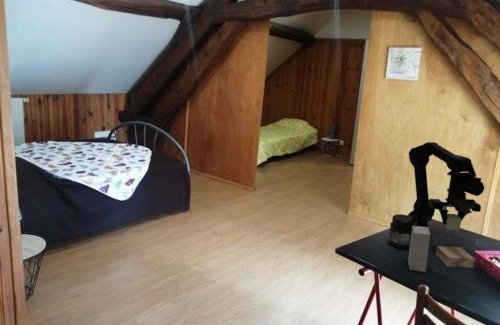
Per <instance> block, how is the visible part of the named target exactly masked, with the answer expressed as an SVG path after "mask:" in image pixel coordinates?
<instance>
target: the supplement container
mask: <svg viewBox="0 0 500 325" xmlns="http://www.w3.org/2000/svg"><path fill="white" fill-rule="evenodd" d="M391 220H392V221H391V222H390V224H389V227H390V228H389V232H388V239H387V240H388V243H389V245H391V246H392V247H394V248H396V249H399V250H400V249H401V250H409V249H410V241H411V232H412V226H416V223H417V220H416V219H415V218H414V217H411V216H408V214H401V213H398V214H394V215H393V216H392V219H391Z"/></svg>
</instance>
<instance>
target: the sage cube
mask: <svg viewBox="0 0 500 325" xmlns="http://www.w3.org/2000/svg"><path fill="white" fill-rule="evenodd" d="M461 219H462V218H460V217H459V216H458V215H457V214H456V213H447V218H446V224H445V225H444V224H443V221H442V220H441V221H442V222H441V226H443V227H444V228H445V230H452V231H460V230H461V223H462V221H461Z"/></svg>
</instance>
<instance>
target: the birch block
mask: <svg viewBox="0 0 500 325" xmlns="http://www.w3.org/2000/svg"><path fill="white" fill-rule="evenodd" d="M435 250H436V251H435V256H437V258H438V259H440V261H441V262H442V263H443V264H444V265H445V266H447V267H450V268H451V267H455V268H471V269H472V268H473V269H474V266H475V262H476V258H475V257H474V256H473V255H471V254H470V253H469V252H468V251H467V250H466V249H465V248H464V247H462V246H461V247H460V246H439V245H437V246H436V249H435Z"/></svg>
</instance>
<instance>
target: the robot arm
mask: <svg viewBox="0 0 500 325" xmlns="http://www.w3.org/2000/svg"><path fill="white" fill-rule="evenodd" d="M431 156H434V157H435V158H438V159H439V160H440V161H442V162H444V163H445V164H446V168H448V169H449V170H450V171H448V172H446V175H447V176H450V179H449V185H448V186H449V187H448V188H446V192H447V197H446V198H445V201H442V200H440V198H439V199H438V198H429V188H428V187H429V186H428V185H429V184H428V175H427V174H428V173H427V166H428V164H429V162H430V157H431ZM408 157H409V158H408V159H409V162H410V164H411V165H412V167H413V170H414V181H415V183H414V184H415V194H416V195H415V196H416V199H415V201H414V204H413V205H412V206H413V207H412V208H413V209H412V211H410V212H409V213H408V214H407V215H408V216H411V217H414V218H415V219H416V220H417V223H416V226H420V227H428V228H429V224H428V223H429V222H431V221H432V219H433V217H434V216H435V212H436V210H438V211H439V214H440V216H441V217H440V218H441V221H443V224H444V225H445V224H446V218H447V214H449V210H448V208H454V210H455V211H456V212H457V214H456V215H458V216H459V217H460V218H462V219H461V222H462V221H463V220H464V219H465V217H467V215H468V214H472V213H474V212H476V213H477V212H478V213H479V212H481V211H482V206H481V204H480V203H478V202H477V201H476V200H475V199H473V198H472V199H471V198H470V199H469V198H467V194H470V195H472V196H475V197H478V196H480V195H482V194H483V193H484V190H485V186H484V185H485V184H484V183H483V182H482V178H481V177H477V173H476V171H475V168H474V165H473V163H472V160H471V159H470V158H469V157H466V156H463V155H458V154H455V153H453V152H451V151H450V150H448V149H446V148H445V147H443V146H441V145H440V144H438V143H437V142H436V141H435V142H432V141H431V142H429V141H428V142H425V143H423V144H421V145H418V146H415V147H411V149H410V150H409V151H408Z"/></svg>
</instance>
